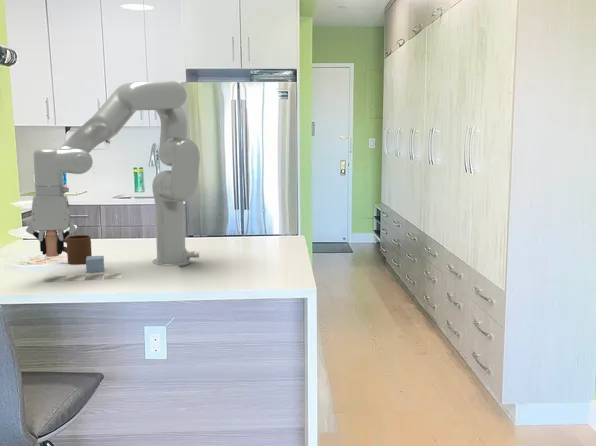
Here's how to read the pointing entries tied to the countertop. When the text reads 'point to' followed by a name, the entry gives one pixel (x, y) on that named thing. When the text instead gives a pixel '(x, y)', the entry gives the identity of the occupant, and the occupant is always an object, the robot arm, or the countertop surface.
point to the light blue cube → (94, 264)
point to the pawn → (51, 243)
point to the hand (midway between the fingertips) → (52, 253)
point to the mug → (78, 249)
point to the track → (81, 277)
